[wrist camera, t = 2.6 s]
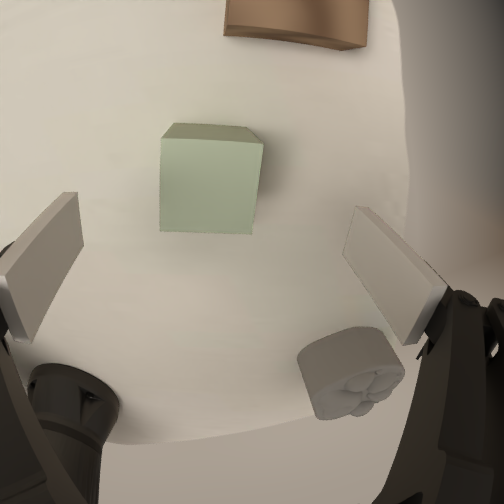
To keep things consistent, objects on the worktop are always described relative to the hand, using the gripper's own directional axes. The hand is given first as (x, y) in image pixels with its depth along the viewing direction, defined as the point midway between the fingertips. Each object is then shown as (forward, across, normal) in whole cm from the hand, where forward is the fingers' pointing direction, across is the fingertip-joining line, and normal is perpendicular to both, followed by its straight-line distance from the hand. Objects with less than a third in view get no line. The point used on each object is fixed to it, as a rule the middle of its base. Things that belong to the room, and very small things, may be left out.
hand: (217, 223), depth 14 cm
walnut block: (+14, +5, +16) cm, 21 cm away
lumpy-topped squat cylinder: (+14, +20, -25) cm, 35 cm away
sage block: (+14, 0, 0) cm, 14 cm away
